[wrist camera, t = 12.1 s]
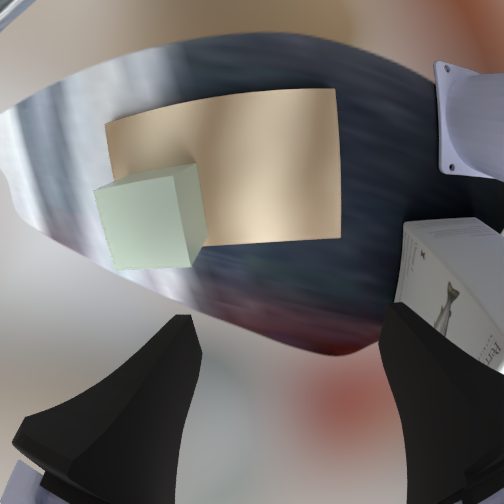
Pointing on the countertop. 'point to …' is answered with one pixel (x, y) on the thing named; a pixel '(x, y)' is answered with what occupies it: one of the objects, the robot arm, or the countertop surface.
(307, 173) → the board
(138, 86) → the countertop surface
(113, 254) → the pale green block
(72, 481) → the robot arm
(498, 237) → the supplement box
